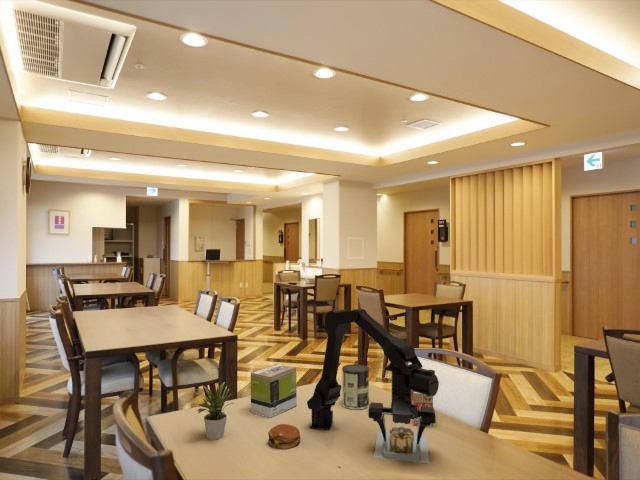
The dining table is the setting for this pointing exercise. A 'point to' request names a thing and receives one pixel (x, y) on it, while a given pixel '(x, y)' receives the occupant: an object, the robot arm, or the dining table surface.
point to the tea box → (273, 390)
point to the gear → (402, 430)
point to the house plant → (214, 413)
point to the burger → (284, 436)
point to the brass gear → (401, 442)
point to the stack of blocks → (421, 404)
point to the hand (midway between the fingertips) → (401, 442)
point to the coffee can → (355, 386)
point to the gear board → (417, 456)
